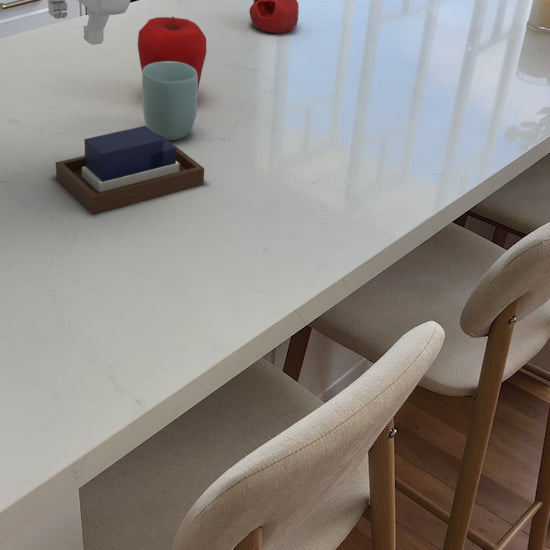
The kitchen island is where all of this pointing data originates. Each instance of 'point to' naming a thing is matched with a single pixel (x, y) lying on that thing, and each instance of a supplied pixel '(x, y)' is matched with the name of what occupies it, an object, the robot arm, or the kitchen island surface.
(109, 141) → the whiteboard eraser
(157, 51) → the apple
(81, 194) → the wooden tray
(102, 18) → the robot arm
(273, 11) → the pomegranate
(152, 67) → the cup
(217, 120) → the kitchen island surface
